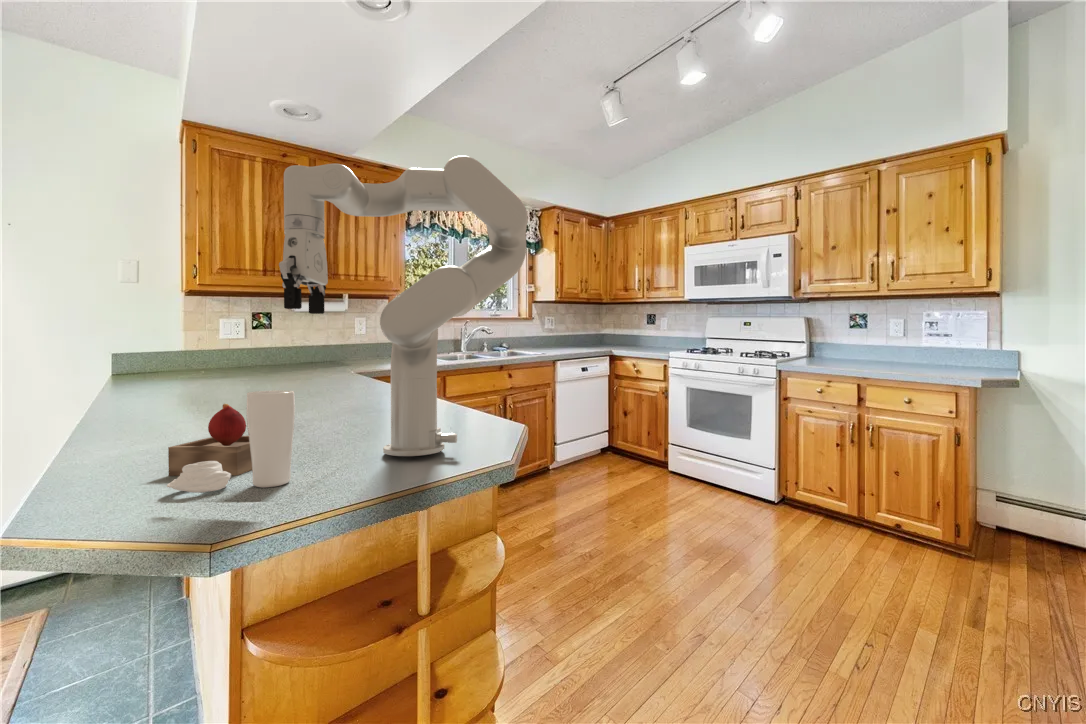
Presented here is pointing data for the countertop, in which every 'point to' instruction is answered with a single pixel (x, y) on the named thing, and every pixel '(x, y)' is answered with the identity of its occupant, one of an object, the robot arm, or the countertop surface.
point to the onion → (227, 425)
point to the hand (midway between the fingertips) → (305, 311)
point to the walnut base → (211, 455)
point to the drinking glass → (271, 436)
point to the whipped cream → (201, 477)
